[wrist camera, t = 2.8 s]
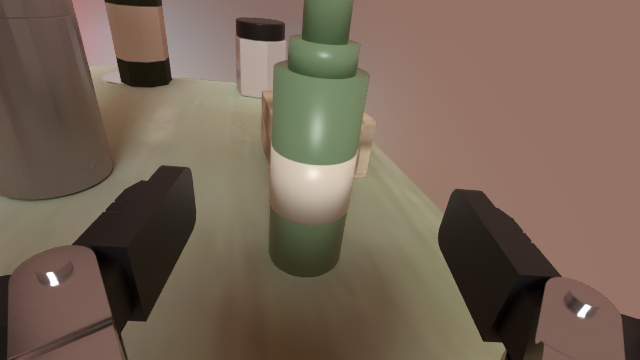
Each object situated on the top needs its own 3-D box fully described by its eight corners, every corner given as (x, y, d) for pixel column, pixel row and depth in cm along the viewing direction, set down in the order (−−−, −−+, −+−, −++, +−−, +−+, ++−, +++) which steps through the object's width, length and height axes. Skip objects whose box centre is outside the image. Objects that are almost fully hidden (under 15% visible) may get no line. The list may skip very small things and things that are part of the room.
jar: (289, 89, 65) (292, 21, 59) (278, 101, 58) (280, 26, 52) (244, 83, 65) (243, 15, 59) (228, 94, 58) (225, 19, 52)
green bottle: (253, 256, 25) (250, -68, 15) (294, 219, 30) (313, -51, 20) (317, 289, 23) (364, -62, 13) (351, 244, 28) (407, -45, 17)
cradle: (365, 177, 38) (376, 122, 34) (273, 182, 35) (275, 123, 31) (337, 139, 46) (343, 92, 43) (261, 141, 43) (261, 90, 40)
